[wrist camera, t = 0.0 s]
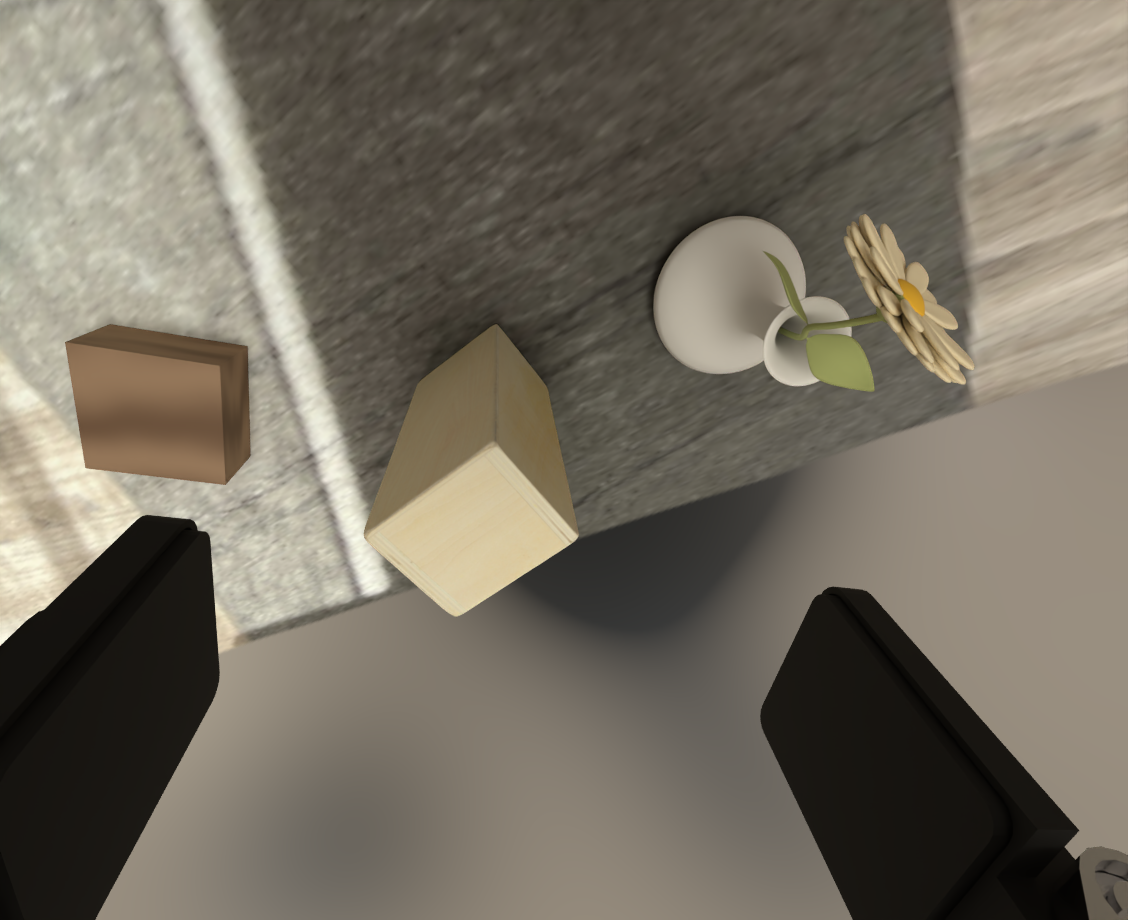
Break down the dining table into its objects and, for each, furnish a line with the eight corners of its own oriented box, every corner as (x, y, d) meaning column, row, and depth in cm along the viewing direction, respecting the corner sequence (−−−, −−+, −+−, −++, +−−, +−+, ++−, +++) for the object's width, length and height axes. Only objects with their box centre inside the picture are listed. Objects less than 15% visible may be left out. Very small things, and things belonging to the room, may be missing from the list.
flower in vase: (812, 323, 46) (1107, 466, 24) (682, 392, 47) (845, 587, 25) (759, 159, 40) (1082, 146, 18) (613, 243, 42) (745, 326, 20)
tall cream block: (476, 450, 48) (462, 630, 29) (415, 383, 45) (356, 535, 26) (554, 394, 46) (592, 545, 28) (496, 321, 43) (495, 435, 25)
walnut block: (112, 323, 41) (65, 342, 37) (248, 345, 43) (219, 365, 38) (126, 438, 45) (85, 468, 40) (251, 454, 46) (225, 484, 42)
